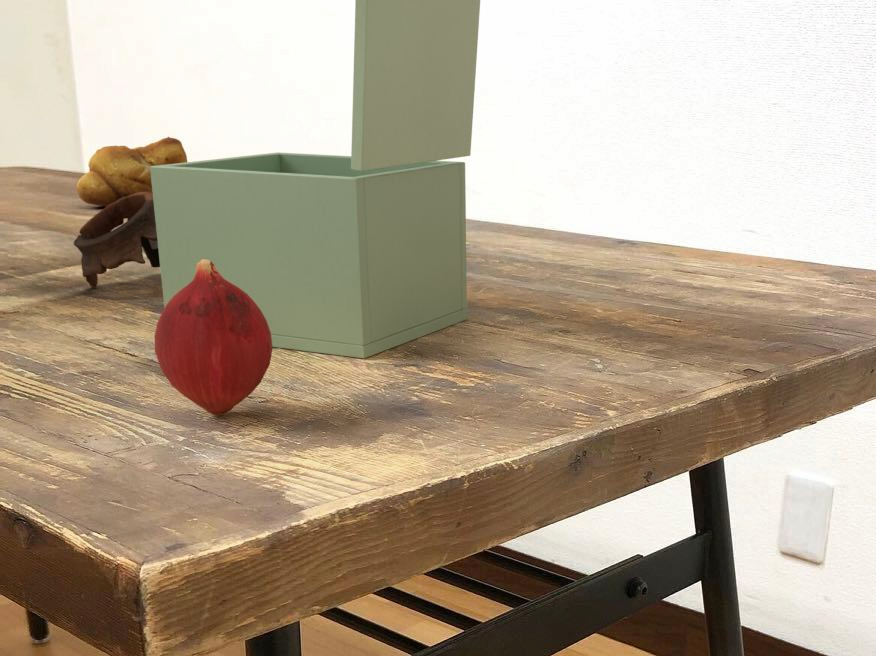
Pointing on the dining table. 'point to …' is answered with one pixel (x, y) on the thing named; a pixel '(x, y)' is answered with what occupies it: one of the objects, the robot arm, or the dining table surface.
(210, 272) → the onion
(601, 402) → the dining table surface
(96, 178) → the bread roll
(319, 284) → the box
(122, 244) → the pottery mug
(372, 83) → the lid
